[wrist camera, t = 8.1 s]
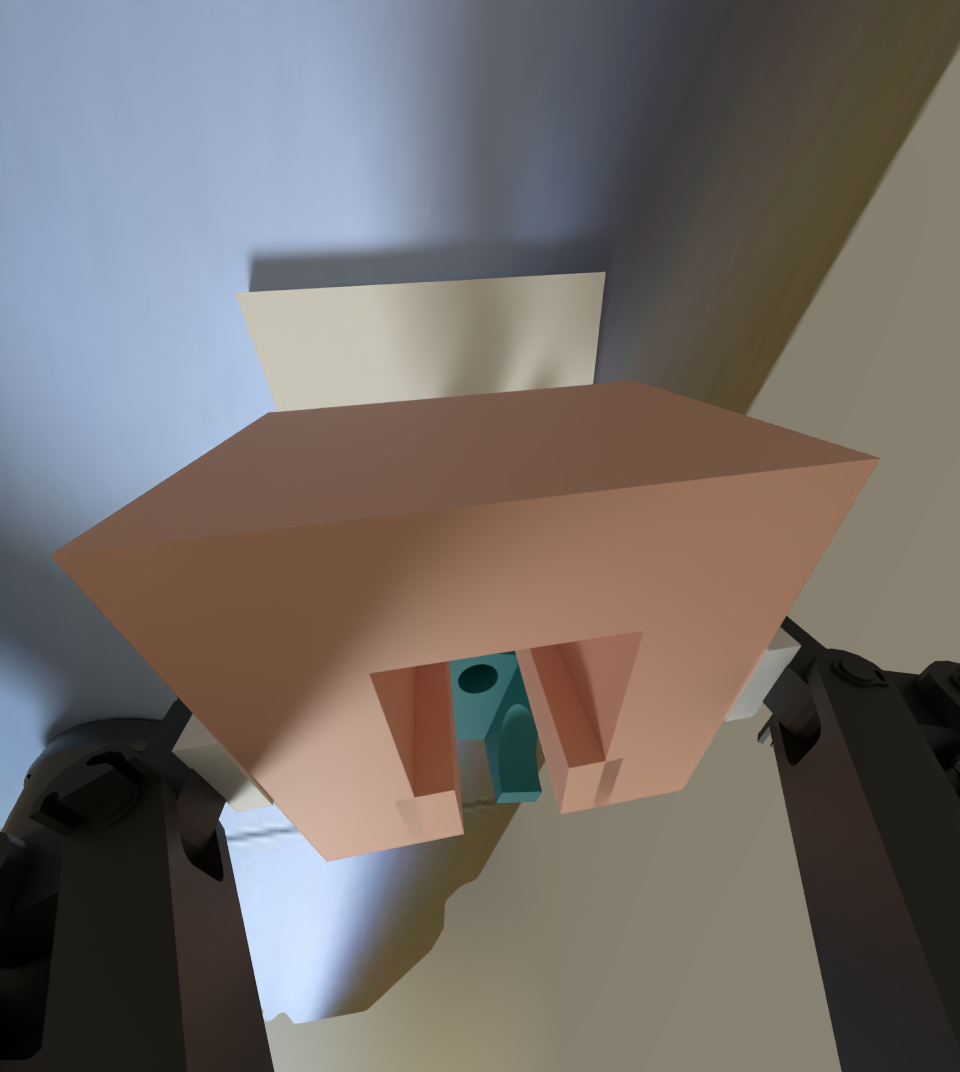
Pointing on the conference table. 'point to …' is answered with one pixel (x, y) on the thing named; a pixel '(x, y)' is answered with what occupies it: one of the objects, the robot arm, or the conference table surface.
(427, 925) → the conference table surface
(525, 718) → the teal l-shaped bracket
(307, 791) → the orange arch block
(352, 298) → the base
